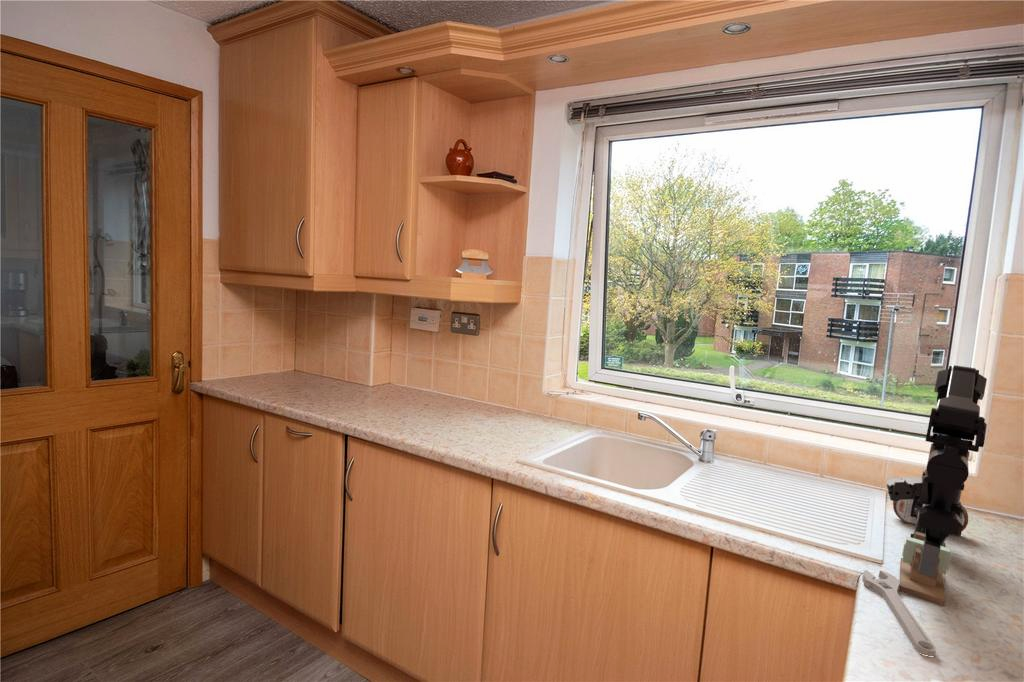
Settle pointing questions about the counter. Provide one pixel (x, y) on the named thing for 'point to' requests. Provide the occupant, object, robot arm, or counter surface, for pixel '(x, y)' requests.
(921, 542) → the spacer
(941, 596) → the stand
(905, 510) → the tin
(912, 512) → the robot arm
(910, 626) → the adjustable wrench
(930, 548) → the shaft
